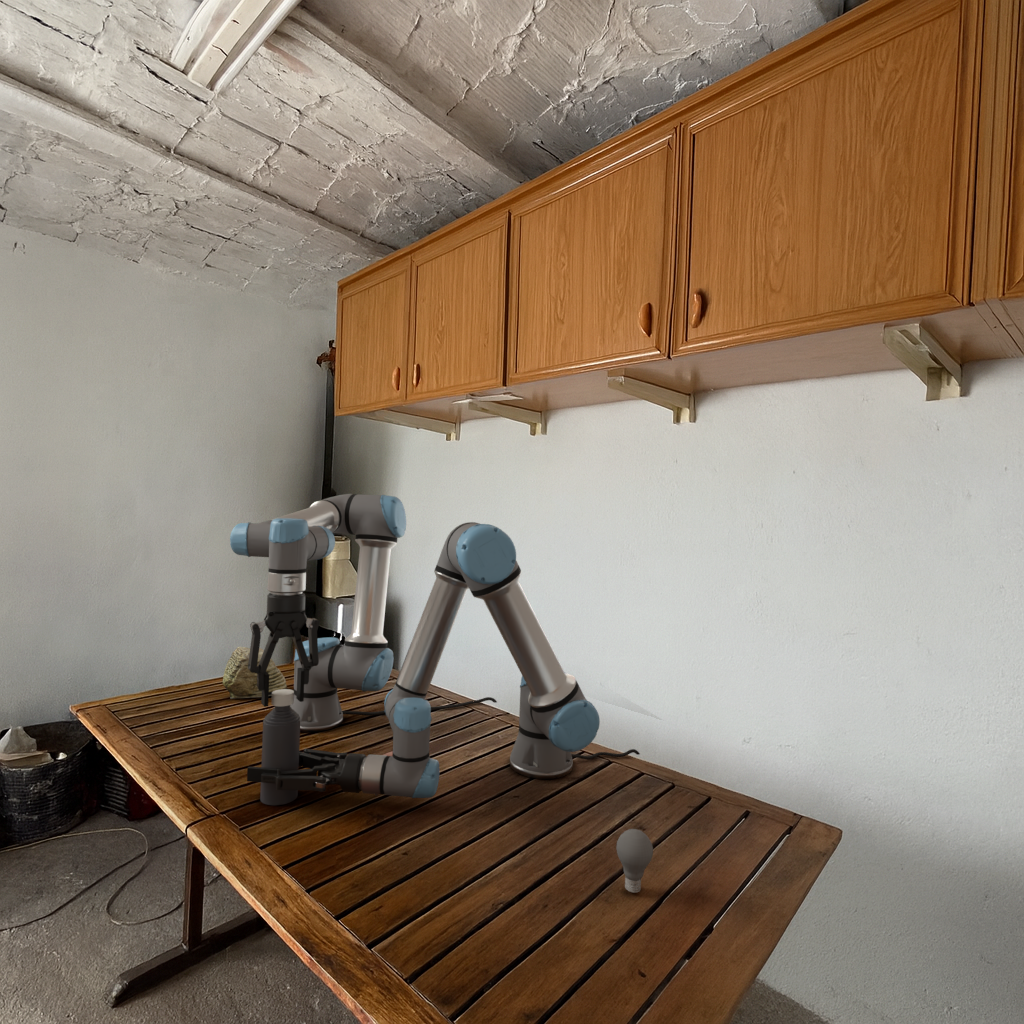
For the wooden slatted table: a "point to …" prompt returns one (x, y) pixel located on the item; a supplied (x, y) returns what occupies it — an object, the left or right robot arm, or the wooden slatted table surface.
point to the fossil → (249, 675)
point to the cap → (282, 697)
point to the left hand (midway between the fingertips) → (282, 701)
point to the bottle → (280, 751)
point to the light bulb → (634, 857)
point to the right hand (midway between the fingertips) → (257, 765)
